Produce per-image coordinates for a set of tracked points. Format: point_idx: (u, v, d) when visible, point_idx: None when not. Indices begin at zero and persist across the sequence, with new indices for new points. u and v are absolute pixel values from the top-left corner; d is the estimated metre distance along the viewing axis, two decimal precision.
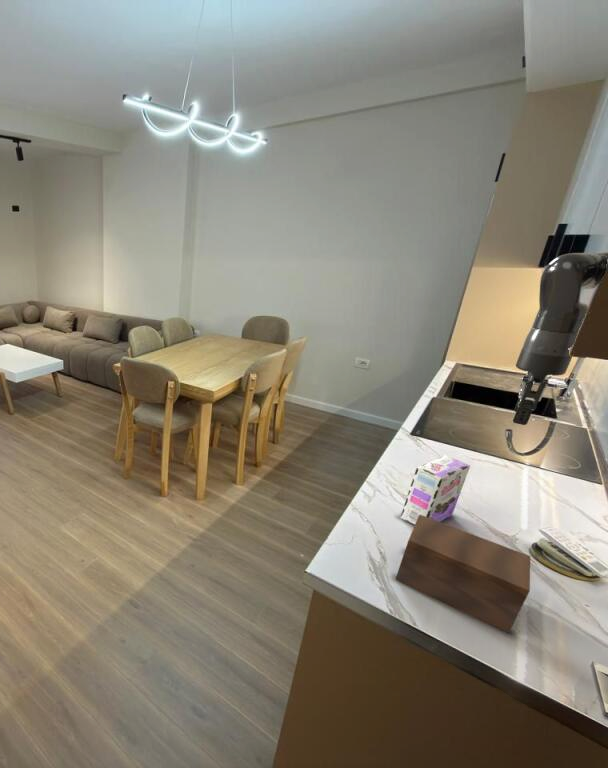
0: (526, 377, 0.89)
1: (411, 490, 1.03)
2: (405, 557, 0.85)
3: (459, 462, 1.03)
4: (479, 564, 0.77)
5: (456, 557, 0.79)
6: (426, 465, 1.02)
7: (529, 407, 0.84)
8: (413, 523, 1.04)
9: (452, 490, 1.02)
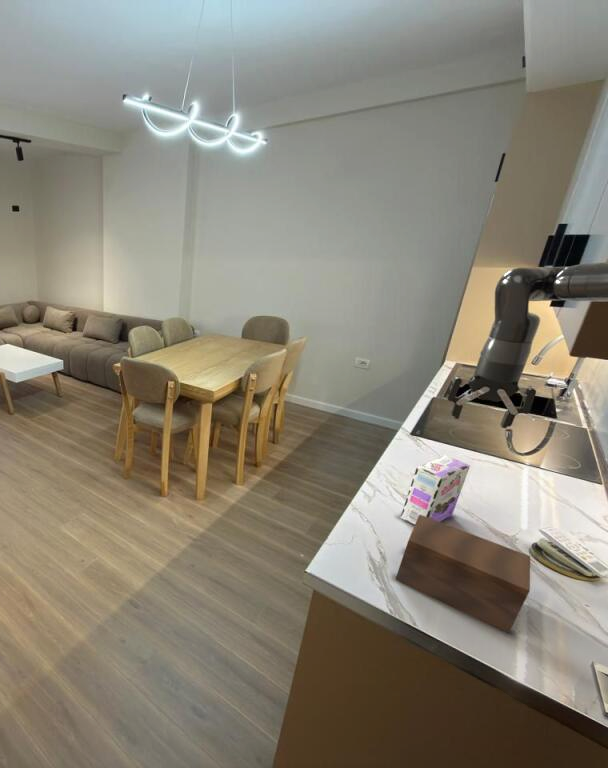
0: None
1: (411, 490, 1.03)
2: (405, 557, 0.85)
3: (459, 462, 1.03)
4: (479, 564, 0.77)
5: (456, 557, 0.79)
6: (426, 465, 1.02)
7: None
8: (413, 523, 1.04)
9: (452, 490, 1.02)
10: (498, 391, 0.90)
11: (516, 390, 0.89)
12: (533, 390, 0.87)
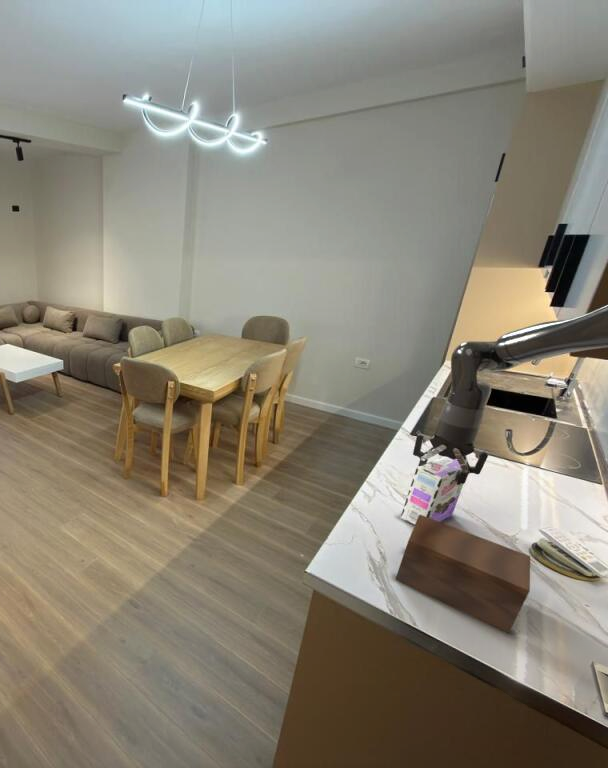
0: None
1: (411, 490, 1.03)
2: (405, 557, 0.85)
3: None
4: (479, 564, 0.77)
5: (456, 557, 0.79)
6: (426, 465, 1.02)
7: None
8: (413, 523, 1.04)
9: (452, 490, 1.02)
10: (454, 450, 0.97)
11: (471, 451, 0.96)
12: (485, 454, 0.94)
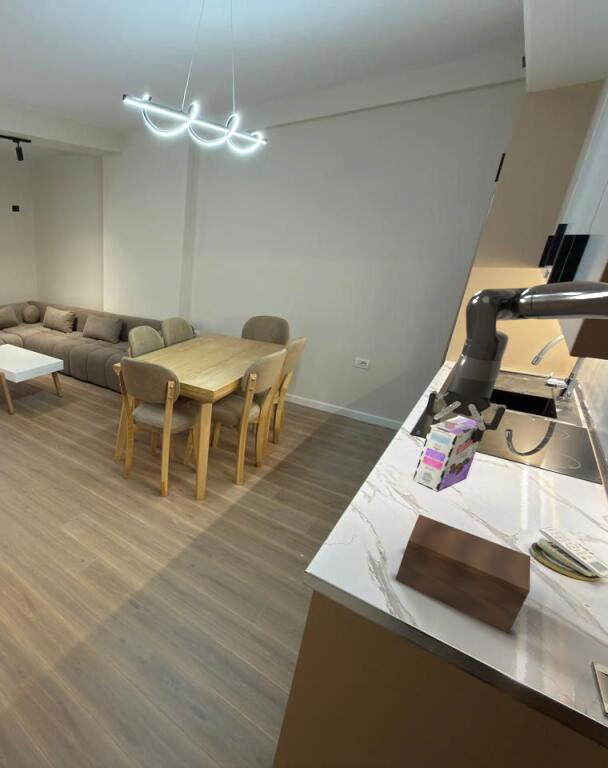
0: None
1: (424, 450, 0.99)
2: (405, 557, 0.85)
3: (474, 421, 0.99)
4: (479, 564, 0.77)
5: (456, 557, 0.79)
6: (440, 424, 0.97)
7: (426, 412, 1.01)
8: (426, 485, 1.00)
9: (467, 450, 0.97)
10: (469, 406, 0.93)
11: (487, 406, 0.92)
12: (502, 408, 0.90)
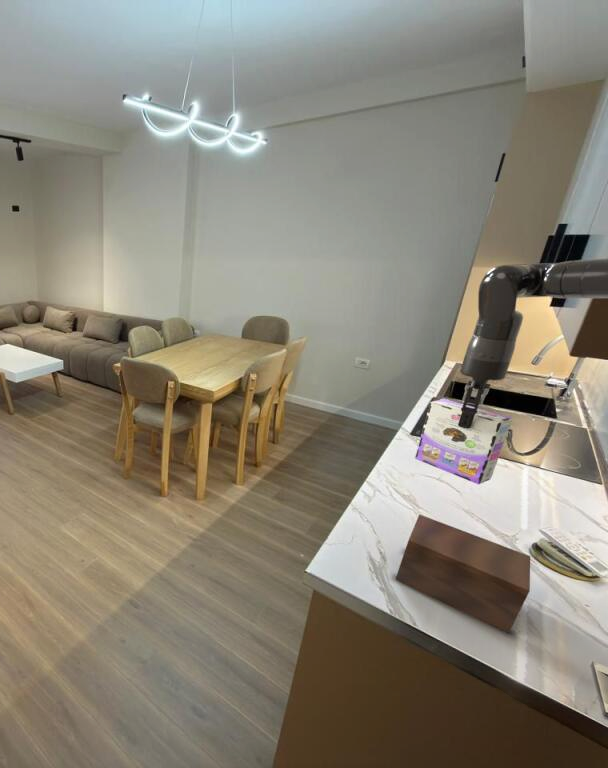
0: (471, 382, 0.92)
1: (492, 449, 0.89)
2: (405, 557, 0.85)
3: (443, 400, 0.98)
4: (479, 564, 0.77)
5: (456, 557, 0.79)
6: (485, 416, 0.89)
7: (470, 411, 0.88)
8: (486, 479, 0.93)
9: None
10: (489, 387, 0.90)
11: None
12: None
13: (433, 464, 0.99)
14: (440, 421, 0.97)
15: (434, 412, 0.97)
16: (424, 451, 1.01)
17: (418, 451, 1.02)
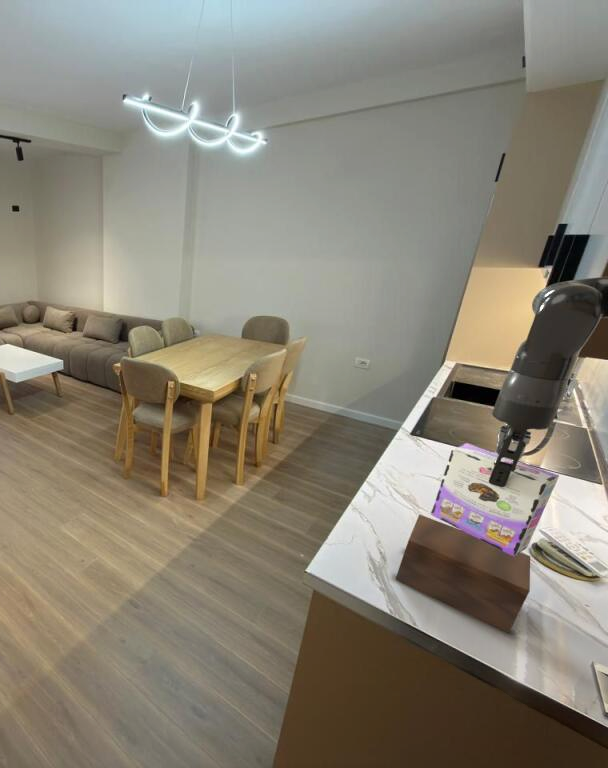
0: (505, 427, 0.74)
1: (532, 515, 0.70)
2: (405, 557, 0.85)
3: (468, 446, 0.79)
4: (479, 564, 0.77)
5: (456, 557, 0.79)
6: (525, 473, 0.70)
7: (507, 468, 0.69)
8: (523, 549, 0.74)
9: None
10: (529, 435, 0.72)
11: None
12: None
13: (454, 524, 0.81)
14: (464, 473, 0.78)
15: (456, 462, 0.79)
16: (443, 507, 0.82)
17: (435, 507, 0.83)
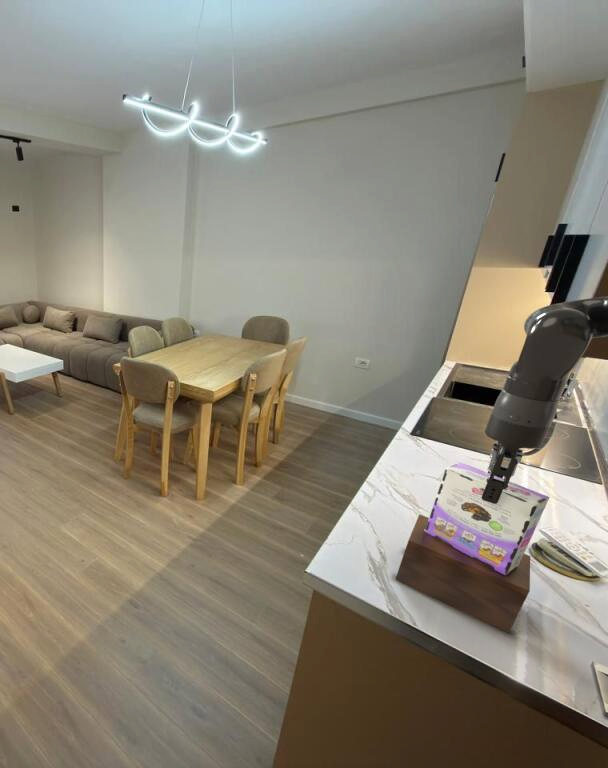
0: (497, 445, 0.75)
1: (523, 536, 0.72)
2: (405, 557, 0.85)
3: (461, 466, 0.81)
4: (479, 564, 0.77)
5: (456, 557, 0.79)
6: (516, 495, 0.72)
7: (499, 486, 0.70)
8: (514, 567, 0.76)
9: None
10: (521, 454, 0.73)
11: None
12: None
13: (447, 542, 0.82)
14: (457, 493, 0.79)
15: (450, 481, 0.80)
16: (437, 524, 0.84)
17: (429, 524, 0.85)
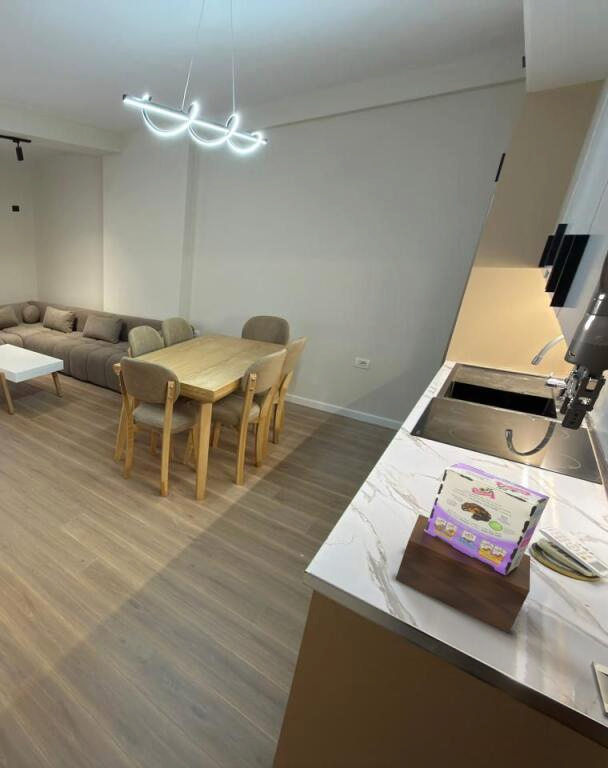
0: (576, 373, 0.75)
1: (523, 536, 0.72)
2: (405, 557, 0.85)
3: (461, 466, 0.81)
4: (479, 564, 0.77)
5: (456, 557, 0.79)
6: (516, 495, 0.72)
7: (584, 408, 0.70)
8: (514, 567, 0.76)
9: None
10: None
11: None
12: None
13: (447, 542, 0.82)
14: (457, 493, 0.79)
15: (450, 481, 0.80)
16: (437, 524, 0.84)
17: (429, 524, 0.85)
